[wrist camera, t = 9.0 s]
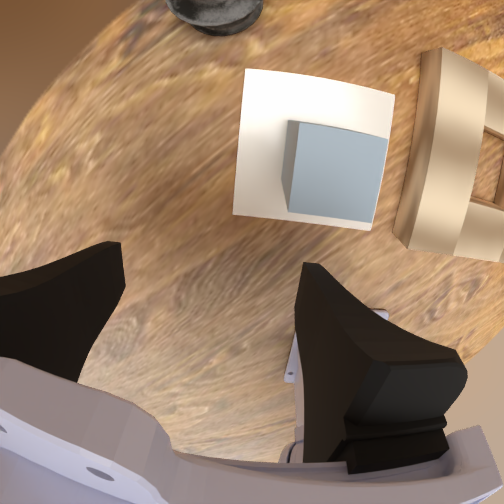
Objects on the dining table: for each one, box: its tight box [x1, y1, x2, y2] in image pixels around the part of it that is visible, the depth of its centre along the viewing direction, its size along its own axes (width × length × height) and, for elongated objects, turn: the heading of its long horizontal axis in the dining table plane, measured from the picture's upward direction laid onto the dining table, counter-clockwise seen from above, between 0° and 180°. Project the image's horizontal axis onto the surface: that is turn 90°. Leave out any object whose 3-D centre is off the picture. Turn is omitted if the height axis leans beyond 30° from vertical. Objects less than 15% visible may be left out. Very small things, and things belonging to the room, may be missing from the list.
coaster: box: [232, 69, 395, 231], centre depth 19 cm, size 10×10×1 cm
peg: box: [281, 120, 388, 223], centre depth 16 cm, size 4×4×7 cm
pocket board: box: [392, 47, 504, 263], centre depth 17 cm, size 14×14×3 cm
